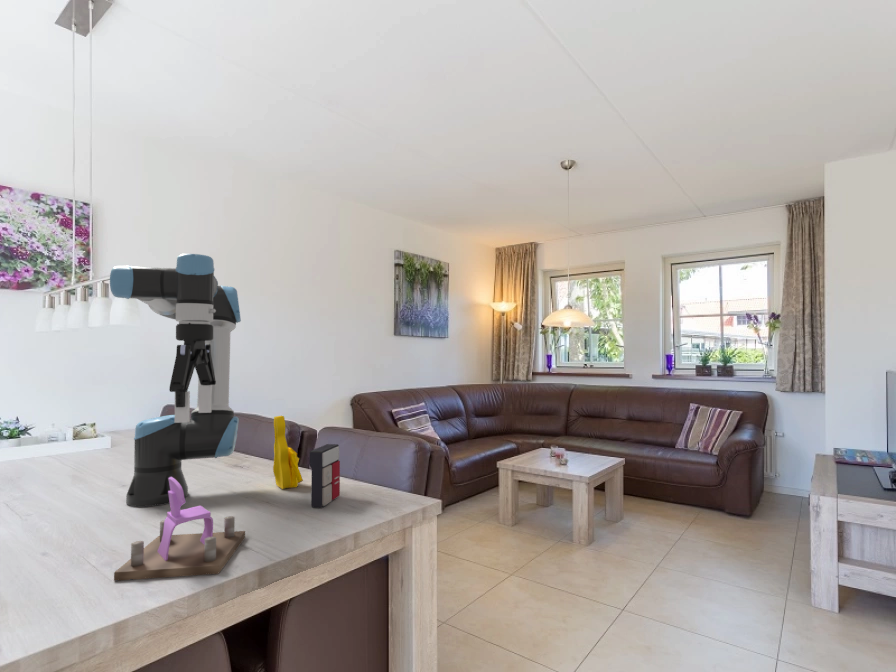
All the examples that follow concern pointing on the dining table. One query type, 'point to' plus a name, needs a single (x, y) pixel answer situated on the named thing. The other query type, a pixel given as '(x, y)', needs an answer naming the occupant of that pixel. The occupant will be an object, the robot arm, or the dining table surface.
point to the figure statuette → (284, 458)
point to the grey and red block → (325, 475)
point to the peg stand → (182, 554)
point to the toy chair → (182, 517)
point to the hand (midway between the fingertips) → (194, 417)
